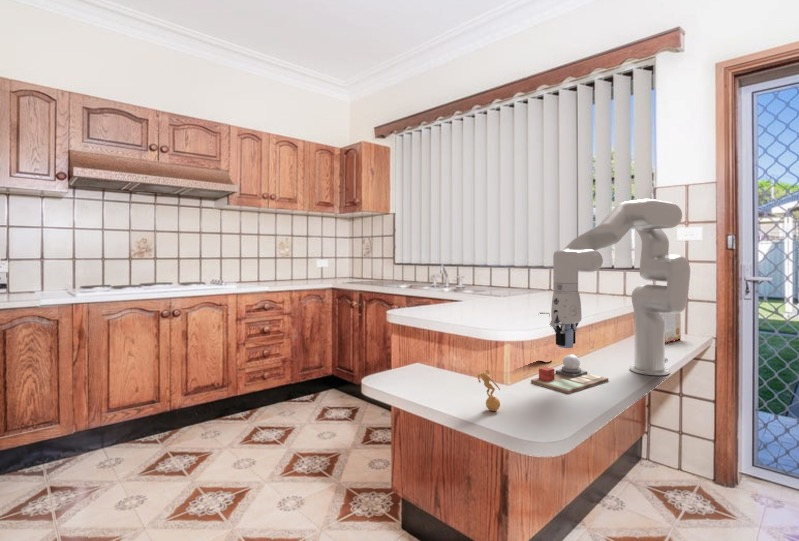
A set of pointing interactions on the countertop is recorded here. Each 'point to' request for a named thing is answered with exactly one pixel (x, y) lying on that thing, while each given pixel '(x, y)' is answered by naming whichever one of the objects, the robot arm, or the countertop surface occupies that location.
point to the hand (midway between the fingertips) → (565, 343)
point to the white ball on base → (571, 364)
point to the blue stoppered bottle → (568, 337)
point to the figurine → (492, 401)
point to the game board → (567, 380)
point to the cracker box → (672, 326)
